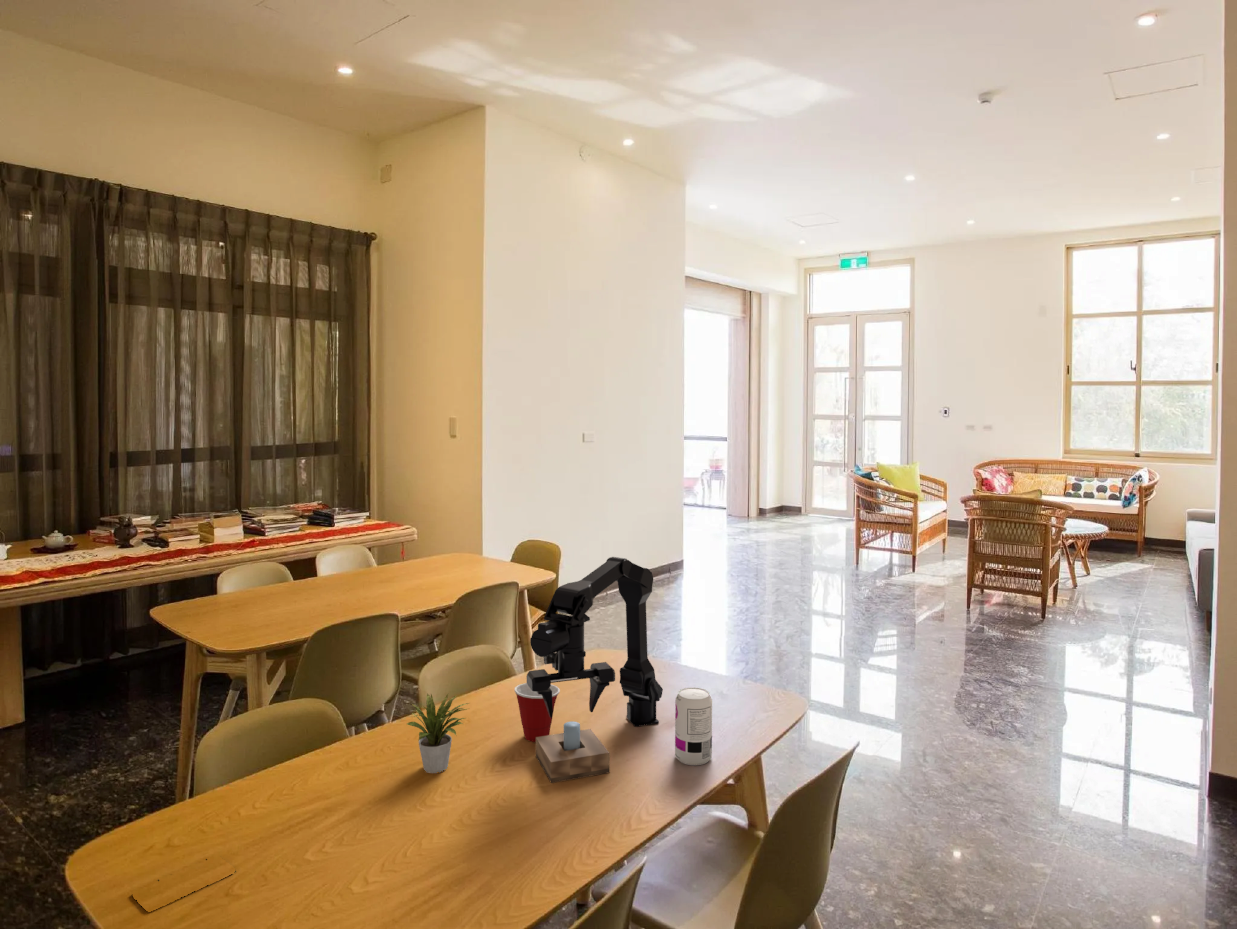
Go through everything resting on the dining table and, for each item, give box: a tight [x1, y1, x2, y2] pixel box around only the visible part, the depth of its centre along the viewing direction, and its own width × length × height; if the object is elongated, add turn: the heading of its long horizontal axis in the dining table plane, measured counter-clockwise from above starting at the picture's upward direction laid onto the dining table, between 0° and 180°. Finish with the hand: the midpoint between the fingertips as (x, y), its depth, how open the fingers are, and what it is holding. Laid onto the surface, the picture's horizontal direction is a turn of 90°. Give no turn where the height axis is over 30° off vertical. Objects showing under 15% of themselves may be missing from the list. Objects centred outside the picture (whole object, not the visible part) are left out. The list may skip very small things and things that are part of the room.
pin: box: [563, 721, 581, 751], centre depth 171 cm, size 4×4×8 cm
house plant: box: [406, 693, 470, 774], centre depth 168 cm, size 14×14×16 cm
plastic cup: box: [514, 682, 561, 743], centre depth 185 cm, size 11×11×12 cm
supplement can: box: [674, 687, 713, 766], centre depth 174 cm, size 8×8×15 cm
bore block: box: [535, 728, 610, 784], centre depth 171 cm, size 13×13×4 cm
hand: (571, 714), depth 170 cm, fingers open, 9 cm apart
